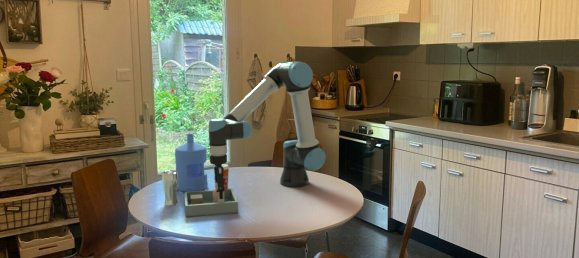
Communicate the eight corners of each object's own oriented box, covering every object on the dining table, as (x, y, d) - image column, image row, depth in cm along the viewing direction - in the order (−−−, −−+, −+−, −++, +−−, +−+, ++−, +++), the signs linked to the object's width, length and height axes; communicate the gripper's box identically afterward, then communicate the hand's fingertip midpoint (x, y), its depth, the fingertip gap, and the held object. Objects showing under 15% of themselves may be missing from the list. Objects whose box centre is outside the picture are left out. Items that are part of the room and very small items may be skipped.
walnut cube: (191, 206, 199) (190, 195, 198) (202, 205, 200) (202, 194, 199) (191, 209, 194) (190, 198, 193) (203, 208, 195) (202, 197, 194)
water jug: (170, 190, 223) (167, 135, 219) (188, 182, 238) (186, 131, 233) (196, 194, 218) (194, 137, 213) (213, 185, 232) (212, 132, 228)
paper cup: (226, 195, 215) (226, 167, 213) (211, 194, 217) (210, 166, 214) (232, 191, 223) (231, 163, 220) (217, 190, 224) (216, 163, 222)
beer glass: (182, 202, 205) (180, 170, 203) (173, 207, 199) (172, 174, 197) (169, 200, 208) (167, 169, 205) (160, 205, 201) (158, 173, 199)
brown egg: (223, 203, 202) (223, 188, 201) (225, 207, 197) (224, 191, 196) (212, 204, 201) (212, 189, 200) (213, 208, 196) (213, 192, 195)
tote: (232, 198, 210) (232, 188, 210) (238, 212, 191) (238, 201, 191) (184, 202, 205) (184, 192, 204) (185, 217, 186) (185, 205, 185)
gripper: (207, 149, 206) (209, 193, 210) (211, 161, 183) (213, 210, 186) (224, 148, 208) (225, 191, 212) (230, 160, 184) (231, 209, 188)
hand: (219, 200), depth 199 cm, fingers open, 13 cm apart
